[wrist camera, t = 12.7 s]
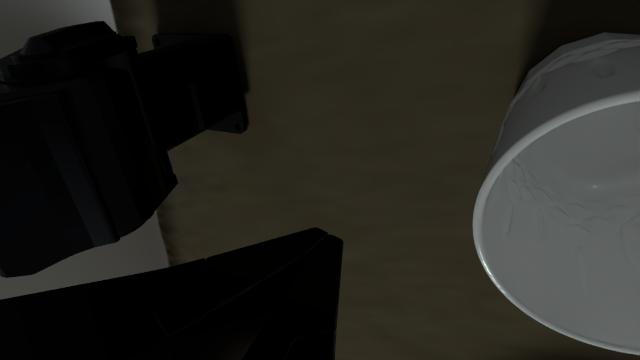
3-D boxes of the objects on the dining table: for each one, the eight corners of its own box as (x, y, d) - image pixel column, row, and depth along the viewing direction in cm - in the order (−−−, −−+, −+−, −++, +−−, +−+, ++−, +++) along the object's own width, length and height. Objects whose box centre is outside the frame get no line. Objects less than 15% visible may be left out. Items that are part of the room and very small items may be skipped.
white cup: (709, -20, 14) (931, 22, 6) (723, 171, 16) (894, 376, 8) (480, 56, 18) (438, 136, 10) (518, 197, 21) (507, 347, 13)
